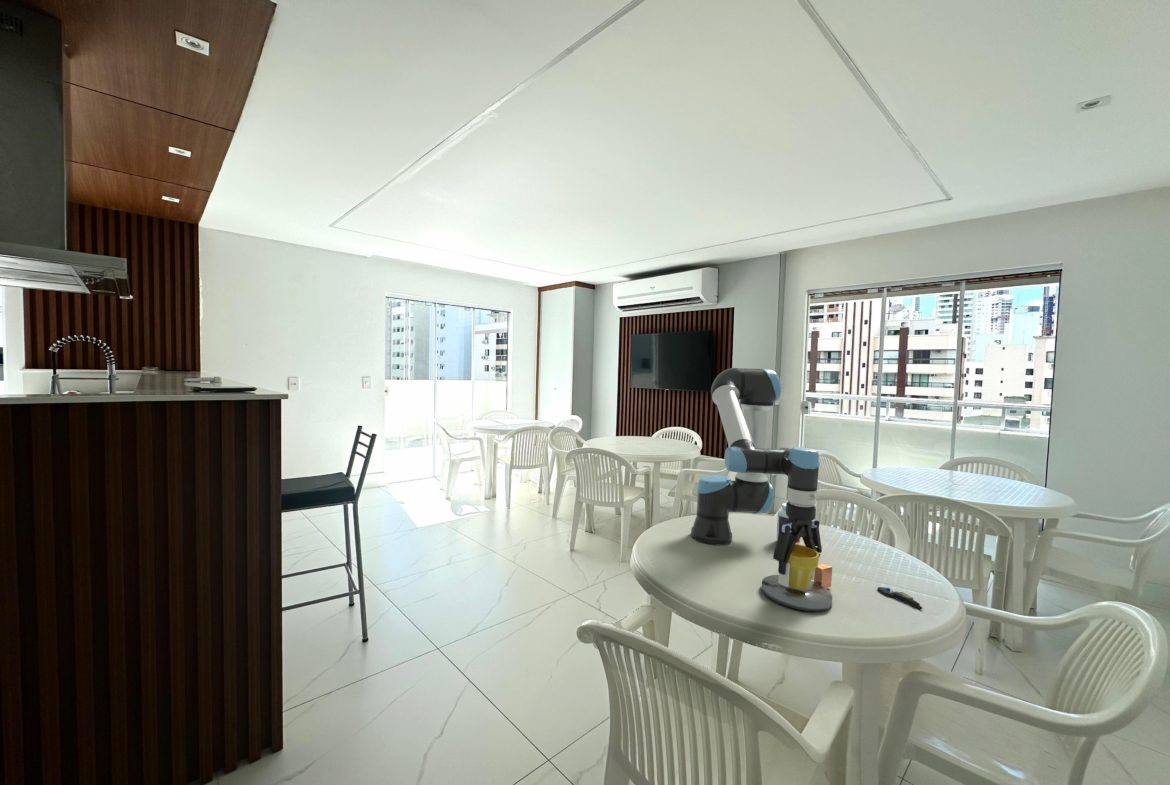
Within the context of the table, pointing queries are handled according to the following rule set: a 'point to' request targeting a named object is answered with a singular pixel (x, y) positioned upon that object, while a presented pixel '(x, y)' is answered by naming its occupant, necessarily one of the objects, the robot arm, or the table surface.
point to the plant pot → (802, 566)
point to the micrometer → (899, 596)
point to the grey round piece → (802, 591)
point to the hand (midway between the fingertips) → (796, 581)
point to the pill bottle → (783, 520)
